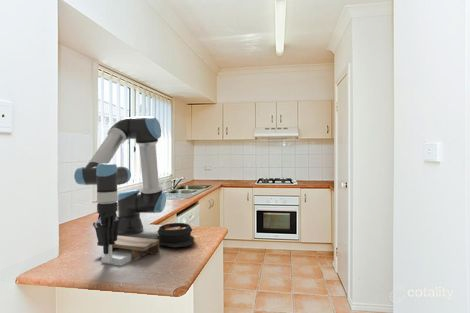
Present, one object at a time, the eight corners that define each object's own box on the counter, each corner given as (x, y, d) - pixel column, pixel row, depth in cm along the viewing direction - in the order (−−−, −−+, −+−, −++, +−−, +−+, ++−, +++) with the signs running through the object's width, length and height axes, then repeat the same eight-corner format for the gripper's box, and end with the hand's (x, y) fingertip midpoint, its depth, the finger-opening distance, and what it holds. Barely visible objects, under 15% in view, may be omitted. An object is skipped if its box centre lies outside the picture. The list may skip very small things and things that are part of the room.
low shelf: (115, 248, 139) (115, 235, 139) (159, 253, 131) (159, 239, 131) (97, 255, 128) (97, 242, 128) (143, 261, 120) (143, 247, 120)
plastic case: (125, 252, 134) (125, 245, 134) (143, 255, 130) (143, 248, 130) (101, 263, 120) (101, 256, 120) (121, 266, 117) (121, 259, 117)
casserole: (148, 240, 151) (148, 223, 151) (182, 234, 161) (182, 219, 161) (165, 254, 130) (165, 235, 130) (203, 246, 140) (203, 228, 140)
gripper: (111, 199, 125) (112, 254, 125) (86, 204, 113) (88, 265, 113) (126, 200, 123) (127, 256, 123) (102, 205, 110) (103, 268, 111)
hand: (108, 260), depth 118 cm, fingers closed
